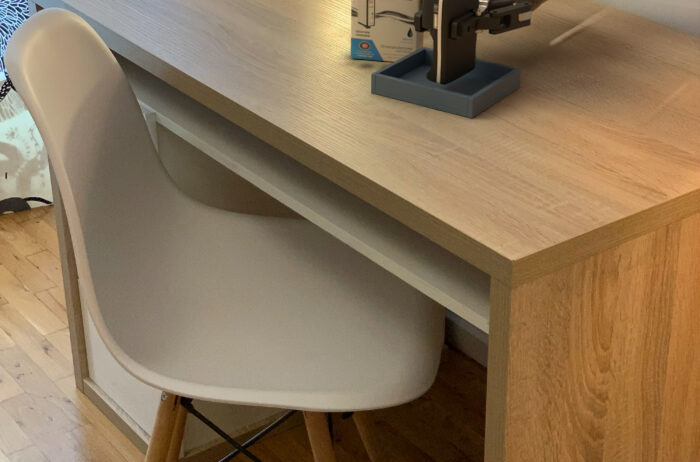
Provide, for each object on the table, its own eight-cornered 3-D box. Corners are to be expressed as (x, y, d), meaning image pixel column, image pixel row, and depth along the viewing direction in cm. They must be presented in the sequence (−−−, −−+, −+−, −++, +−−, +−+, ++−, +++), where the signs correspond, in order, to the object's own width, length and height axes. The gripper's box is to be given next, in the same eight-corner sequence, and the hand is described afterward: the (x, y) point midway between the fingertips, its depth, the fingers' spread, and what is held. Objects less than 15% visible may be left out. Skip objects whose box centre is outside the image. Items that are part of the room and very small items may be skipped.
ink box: (349, 59, 132) (348, -36, 126) (358, 46, 136) (358, -47, 131) (417, 64, 130) (420, -32, 125) (424, 51, 134) (427, -43, 129)
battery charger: (449, 63, 126) (453, -34, 120) (477, 70, 124) (482, -28, 118) (415, 80, 121) (417, -19, 115) (444, 88, 119) (447, -13, 113)
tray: (520, 87, 124) (521, 68, 122) (472, 118, 116) (473, 98, 114) (422, 64, 130) (423, 46, 129) (370, 92, 122) (370, 73, 121)
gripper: (459, -51, 131) (381, -17, 119) (566, -34, 124) (495, 4, 112) (457, 9, 135) (381, 47, 122) (561, 29, 127) (491, 72, 115)
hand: (436, 27), depth 117 cm, fingers closed on battery charger, 4 cm apart
